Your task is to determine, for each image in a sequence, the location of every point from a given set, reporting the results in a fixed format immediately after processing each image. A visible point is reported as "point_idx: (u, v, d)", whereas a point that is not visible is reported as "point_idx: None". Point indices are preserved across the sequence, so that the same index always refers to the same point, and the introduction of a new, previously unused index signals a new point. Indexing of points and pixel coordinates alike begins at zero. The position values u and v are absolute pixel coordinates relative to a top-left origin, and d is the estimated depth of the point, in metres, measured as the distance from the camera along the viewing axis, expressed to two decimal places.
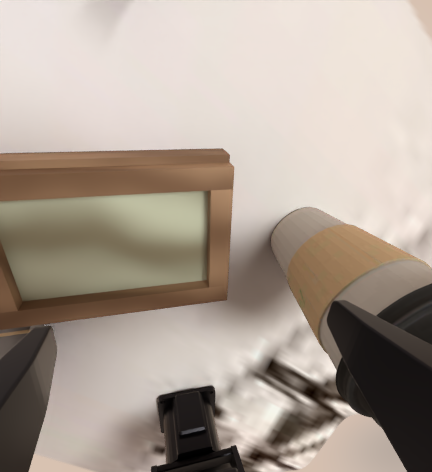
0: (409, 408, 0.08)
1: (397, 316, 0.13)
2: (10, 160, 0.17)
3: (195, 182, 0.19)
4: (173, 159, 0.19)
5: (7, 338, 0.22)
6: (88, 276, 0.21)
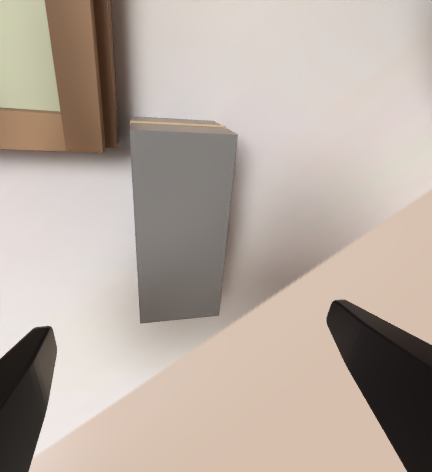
0: (409, 408, 0.08)
1: None
2: None
3: None
4: None
5: None
6: None
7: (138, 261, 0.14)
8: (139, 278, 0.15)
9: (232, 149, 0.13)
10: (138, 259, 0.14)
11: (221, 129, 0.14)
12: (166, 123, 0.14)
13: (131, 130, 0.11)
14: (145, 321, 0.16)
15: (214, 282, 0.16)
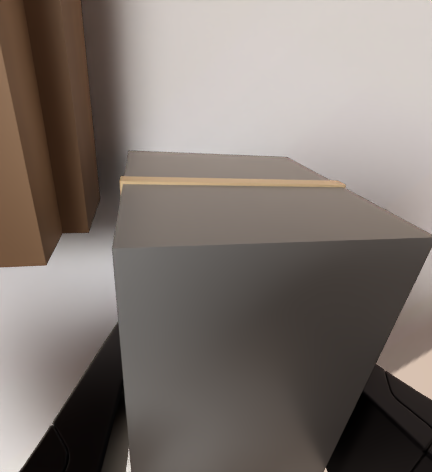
0: None
1: None
2: None
3: None
4: None
5: None
6: None
7: None
8: None
9: (409, 273, 0.04)
10: None
11: (355, 202, 0.05)
12: (211, 182, 0.06)
13: (119, 249, 0.03)
14: None
15: None
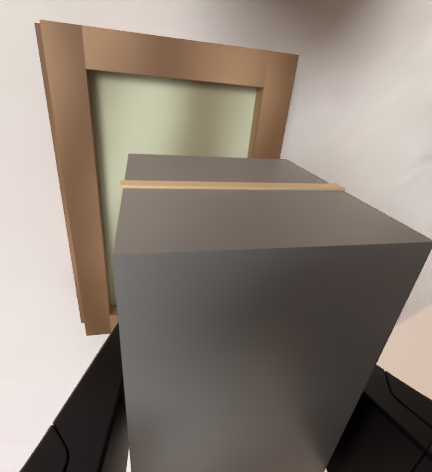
0: None
1: None
2: (75, 281, 0.18)
3: (73, 94, 0.13)
4: (54, 119, 0.14)
5: None
6: None
7: None
8: None
9: (408, 277, 0.04)
10: None
11: (354, 206, 0.05)
12: (211, 186, 0.06)
13: (119, 255, 0.03)
14: None
15: None
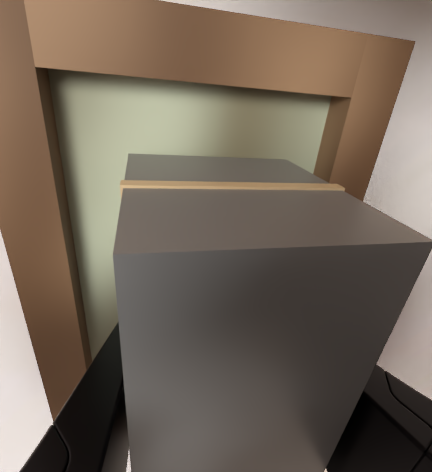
0: None
1: None
2: None
3: (15, 115, 0.07)
4: None
5: None
6: None
7: None
8: None
9: (408, 277, 0.04)
10: None
11: (354, 206, 0.05)
12: (211, 186, 0.06)
13: (119, 255, 0.03)
14: None
15: None
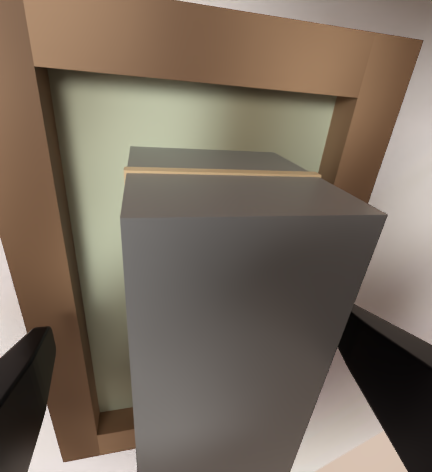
0: (410, 408, 0.08)
1: None
2: None
3: (13, 116, 0.07)
4: None
5: None
6: None
7: (139, 457, 0.07)
8: None
9: (367, 246, 0.05)
10: (139, 455, 0.07)
11: (326, 189, 0.06)
12: (203, 172, 0.06)
13: (125, 219, 0.04)
14: None
15: (281, 460, 0.08)
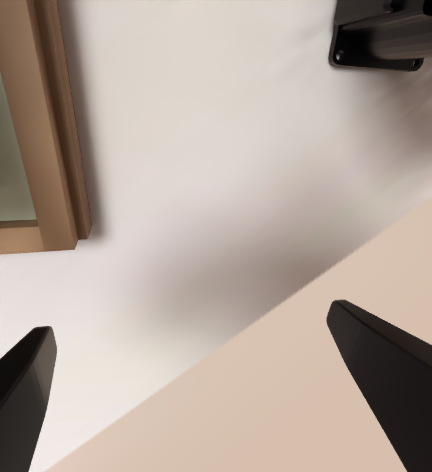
0: (409, 408, 0.08)
1: None
2: None
3: None
4: None
5: None
6: None
7: None
8: None
9: None
10: None
11: None
12: None
13: None
14: None
15: None
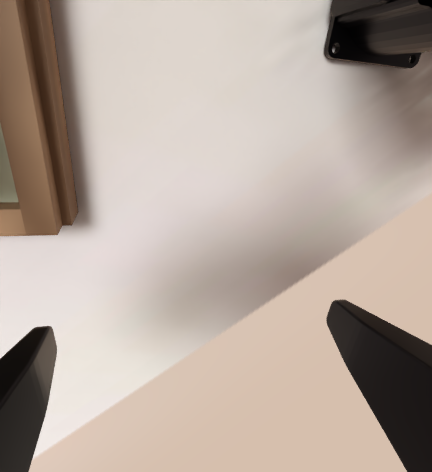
0: (409, 408, 0.08)
1: None
2: None
3: None
4: None
5: None
6: None
7: None
8: None
9: None
10: None
11: None
12: None
13: None
14: None
15: None
